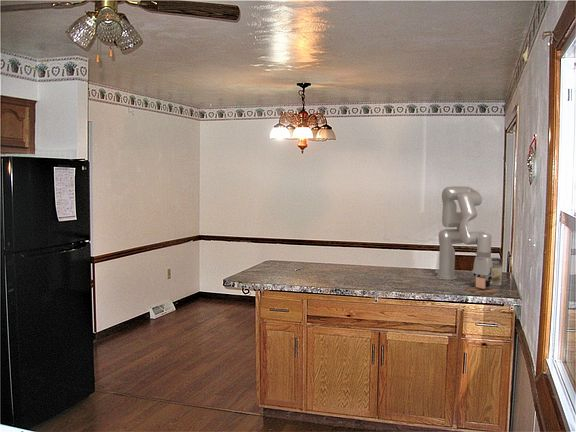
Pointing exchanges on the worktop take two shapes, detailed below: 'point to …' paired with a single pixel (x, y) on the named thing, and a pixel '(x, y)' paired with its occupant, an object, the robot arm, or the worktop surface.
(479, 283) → the cube
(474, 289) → the walnut board
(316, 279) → the worktop surface
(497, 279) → the coffee box
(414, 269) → the worktop surface
